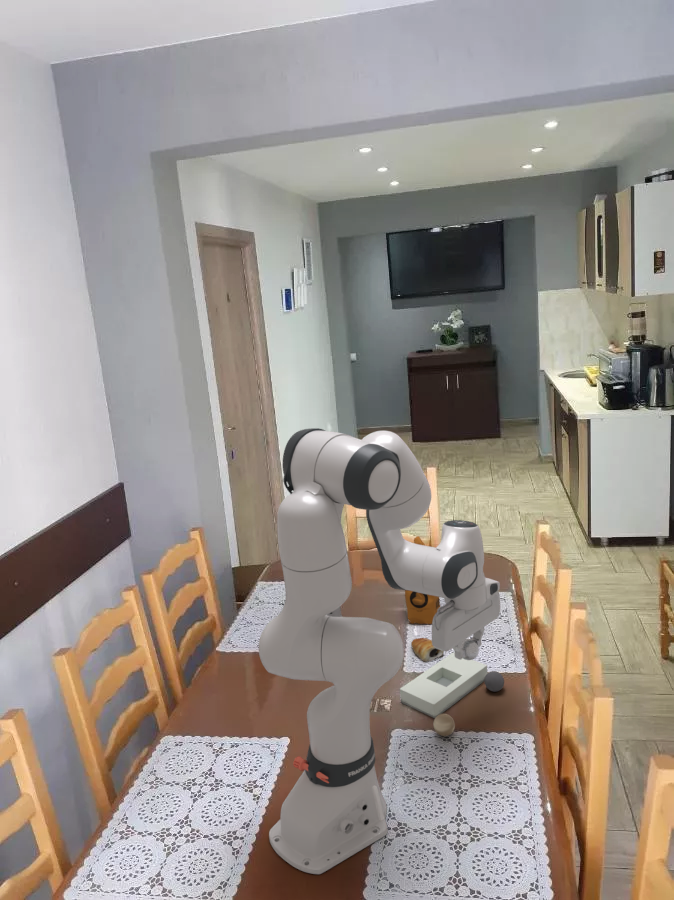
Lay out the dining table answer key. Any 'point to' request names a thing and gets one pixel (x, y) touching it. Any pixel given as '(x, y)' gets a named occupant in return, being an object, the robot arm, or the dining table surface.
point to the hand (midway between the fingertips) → (468, 651)
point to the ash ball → (444, 724)
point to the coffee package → (421, 603)
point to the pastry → (425, 649)
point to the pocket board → (443, 685)
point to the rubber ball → (494, 681)
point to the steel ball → (470, 649)
